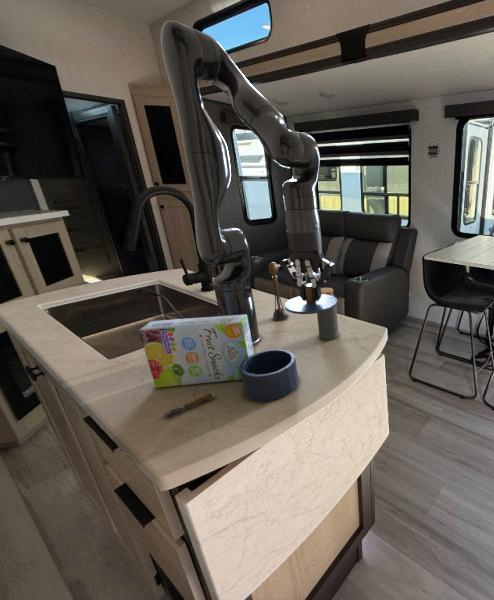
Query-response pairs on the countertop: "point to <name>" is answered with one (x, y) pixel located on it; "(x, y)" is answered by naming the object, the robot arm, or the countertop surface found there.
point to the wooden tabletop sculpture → (277, 293)
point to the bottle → (328, 320)
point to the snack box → (196, 349)
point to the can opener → (191, 404)
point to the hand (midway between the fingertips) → (311, 299)
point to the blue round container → (269, 375)
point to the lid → (310, 303)
